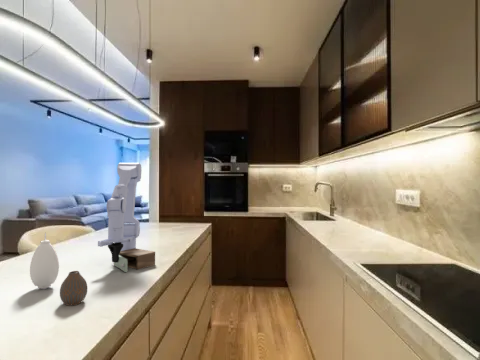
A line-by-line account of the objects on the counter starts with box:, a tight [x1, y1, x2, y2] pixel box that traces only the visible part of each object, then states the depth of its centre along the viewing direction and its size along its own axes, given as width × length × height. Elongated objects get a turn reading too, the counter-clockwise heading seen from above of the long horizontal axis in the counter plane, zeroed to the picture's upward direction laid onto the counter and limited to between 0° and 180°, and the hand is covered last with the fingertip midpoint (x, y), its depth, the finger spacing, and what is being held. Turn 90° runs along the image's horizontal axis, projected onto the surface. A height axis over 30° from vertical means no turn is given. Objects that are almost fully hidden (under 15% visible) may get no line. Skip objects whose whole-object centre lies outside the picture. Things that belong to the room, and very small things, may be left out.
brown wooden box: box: [119, 247, 156, 271], centre depth 129 cm, size 13×9×6 cm
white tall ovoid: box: [29, 232, 60, 290], centre depth 99 cm, size 8×8×18 cm
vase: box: [59, 270, 88, 306], centre depth 87 cm, size 7×7×9 cm
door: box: [113, 255, 128, 272], centre depth 122 cm, size 14×2×5 cm, turn 40°
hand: (115, 262), depth 122 cm, fingers closed, pressing on door
